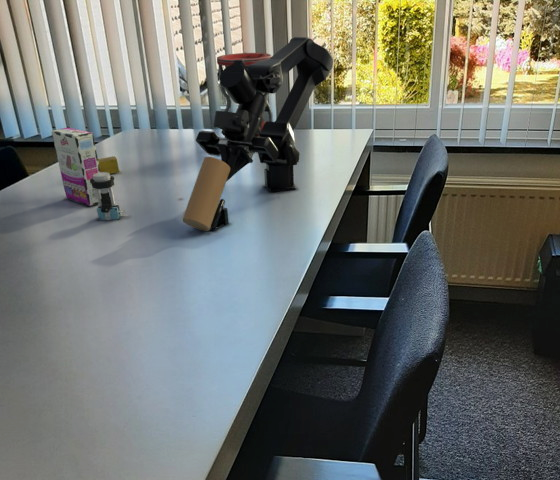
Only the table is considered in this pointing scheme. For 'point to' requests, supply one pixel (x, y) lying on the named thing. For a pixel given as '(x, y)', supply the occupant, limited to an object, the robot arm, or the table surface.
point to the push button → (105, 196)
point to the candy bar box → (77, 163)
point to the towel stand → (220, 216)
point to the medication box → (108, 165)
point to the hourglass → (248, 60)
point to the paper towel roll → (206, 193)
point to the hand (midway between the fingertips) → (223, 180)
